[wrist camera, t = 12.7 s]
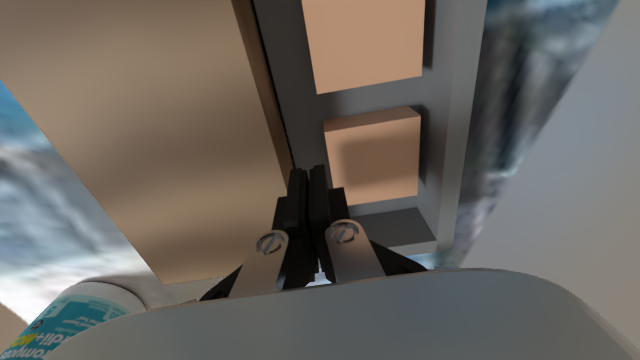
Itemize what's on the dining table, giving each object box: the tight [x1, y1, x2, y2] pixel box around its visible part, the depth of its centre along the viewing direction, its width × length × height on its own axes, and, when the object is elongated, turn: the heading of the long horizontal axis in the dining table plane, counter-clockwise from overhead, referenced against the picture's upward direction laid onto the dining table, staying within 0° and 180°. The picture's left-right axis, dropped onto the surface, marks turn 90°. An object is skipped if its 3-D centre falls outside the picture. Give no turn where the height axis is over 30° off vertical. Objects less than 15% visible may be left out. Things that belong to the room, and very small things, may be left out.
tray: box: [253, 0, 487, 268], centre depth 13 cm, size 19×9×4 cm, turn 10°
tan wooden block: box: [0, 0, 295, 285], centre depth 14 cm, size 18×10×4 cm, turn 10°
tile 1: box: [323, 106, 421, 206], centre depth 15 cm, size 5×5×2 cm
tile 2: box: [302, 0, 425, 94], centre depth 11 cm, size 5×5×2 cm
